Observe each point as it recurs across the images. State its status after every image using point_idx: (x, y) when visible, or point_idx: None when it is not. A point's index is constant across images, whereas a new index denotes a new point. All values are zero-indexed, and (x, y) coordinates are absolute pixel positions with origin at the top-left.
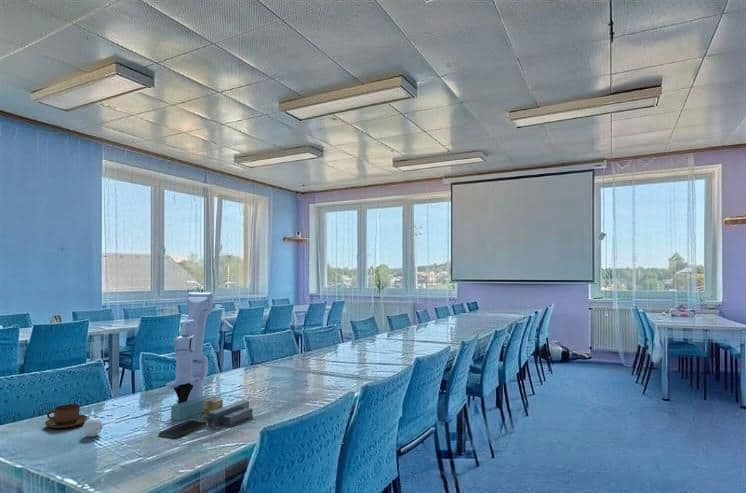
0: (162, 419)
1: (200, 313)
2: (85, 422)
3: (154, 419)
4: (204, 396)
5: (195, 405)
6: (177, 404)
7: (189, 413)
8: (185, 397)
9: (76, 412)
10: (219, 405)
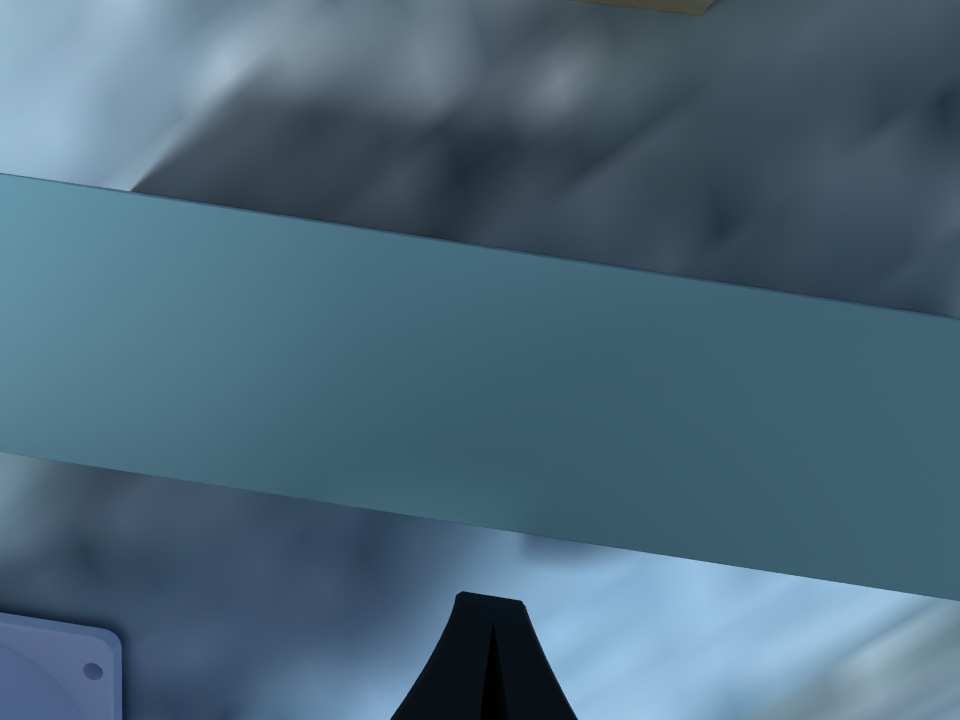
0: None
1: None
2: None
3: (941, 678)
4: (86, 416)
5: (653, 273)
6: (950, 587)
7: (767, 289)
8: (518, 700)
9: None
10: None
